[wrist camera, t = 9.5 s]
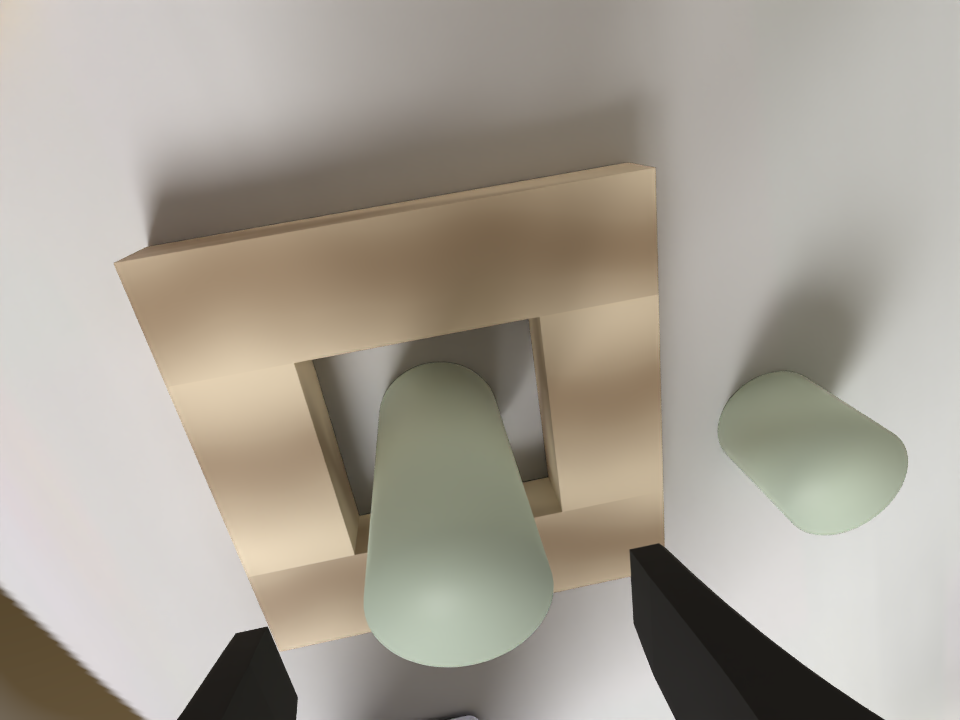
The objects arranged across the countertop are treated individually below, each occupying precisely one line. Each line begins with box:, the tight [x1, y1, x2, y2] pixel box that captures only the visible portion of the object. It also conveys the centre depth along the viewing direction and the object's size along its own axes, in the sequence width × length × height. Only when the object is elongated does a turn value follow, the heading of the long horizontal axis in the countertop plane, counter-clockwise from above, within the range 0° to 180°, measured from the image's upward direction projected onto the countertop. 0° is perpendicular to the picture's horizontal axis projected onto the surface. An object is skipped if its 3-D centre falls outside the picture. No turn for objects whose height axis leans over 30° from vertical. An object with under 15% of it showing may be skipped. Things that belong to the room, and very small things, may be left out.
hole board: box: [114, 163, 665, 652], centre depth 18 cm, size 14×14×2 cm
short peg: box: [718, 371, 908, 535], centre depth 19 cm, size 4×4×4 cm
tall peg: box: [364, 362, 554, 667], centre depth 15 cm, size 4×4×8 cm
